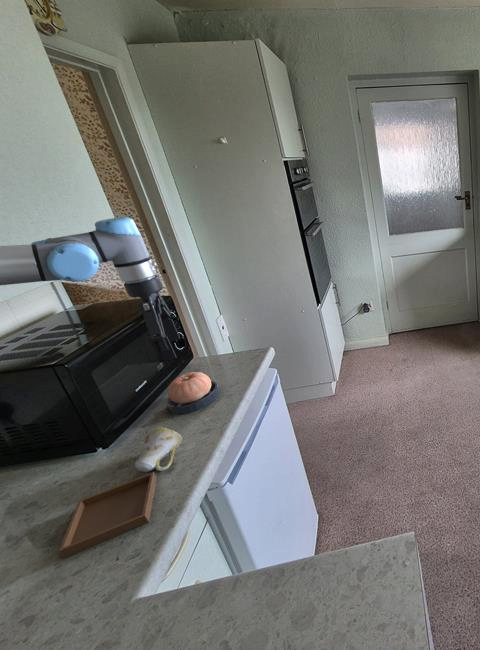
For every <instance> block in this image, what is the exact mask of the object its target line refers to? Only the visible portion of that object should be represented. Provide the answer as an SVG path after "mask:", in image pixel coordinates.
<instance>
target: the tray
mask: <svg viewBox="0 0 480 650" xmlns="http://www.w3.org/2000/svg"><path fill="white" fill-rule="evenodd" d="M157 481H158V477H157V475H156V473H155V471H152V472H150V473H147V474H145V475H142V476H139V477H137V478H134V479H131V480H129V481H126V482H123V483H121V484H118V485H116V486H114V487H109V488H107V489H105V490H103V491H100V492H97V493H95V494H92V495H89V496H86V497H84V498H81V499H79V500H78V502H77V504H76V507H75V509H74V511H73V514H72V516H71V519H70V522H69V524H68V526H67V529H66V531H65V533H64V536H63V539H62V541H61V544H60V546H59V548H58V551H57V553H58V554H59V555H60V556H61V558H62V559H66V558H68V557H70V556H72V555H75V554H77V553H79V552H82V551H84V550H85V549H88V548H91V547H94V546H96V545H98V544H101V543H102V542H106V541H108V540H109V539H112V538H115V537H118V536H119V535H122V534H124V533H126V532H129V531H131V530H133V529H136V528H138V527H141V526H143V525H145V524H147V523H149V522H150V517H151V514H152V513H151V512H152V508H153V501H154V496H155V491H156V486H157Z"/></svg>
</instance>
